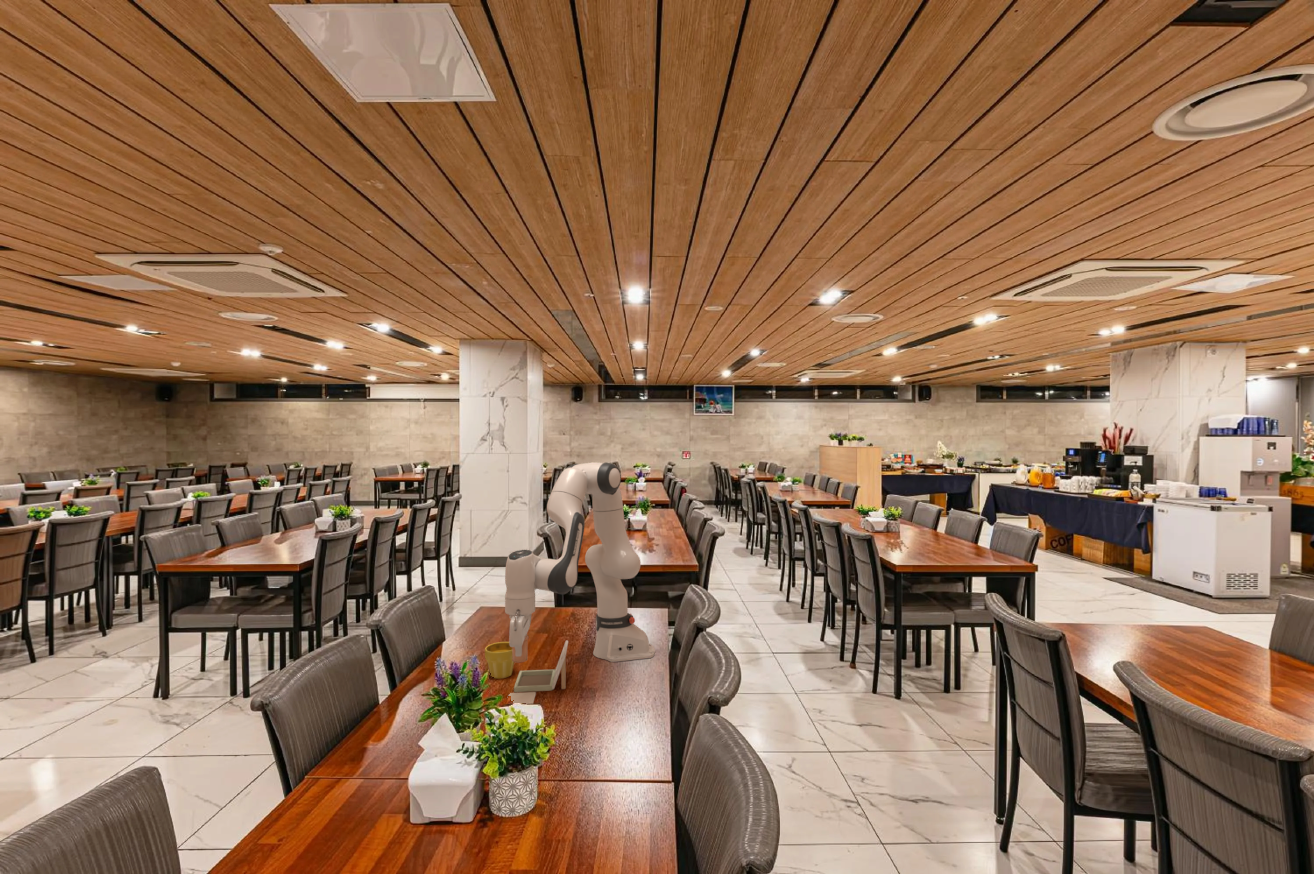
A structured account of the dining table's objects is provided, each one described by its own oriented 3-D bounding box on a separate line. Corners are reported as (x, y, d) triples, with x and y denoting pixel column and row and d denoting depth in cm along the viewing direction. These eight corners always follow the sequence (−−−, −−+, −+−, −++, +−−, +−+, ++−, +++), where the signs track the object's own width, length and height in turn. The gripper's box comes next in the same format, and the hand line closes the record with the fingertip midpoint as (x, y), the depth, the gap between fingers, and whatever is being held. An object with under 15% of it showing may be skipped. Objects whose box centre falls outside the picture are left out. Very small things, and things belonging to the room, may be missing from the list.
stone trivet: (536, 694, 186) (535, 691, 186) (533, 705, 178) (533, 702, 178) (509, 695, 185) (509, 692, 185) (505, 706, 177) (505, 704, 177)
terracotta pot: (529, 656, 184) (529, 633, 184) (527, 662, 179) (527, 638, 179) (512, 657, 184) (512, 633, 184) (509, 663, 179) (510, 639, 179)
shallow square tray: (555, 675, 201) (555, 669, 201) (552, 692, 187) (552, 685, 187) (519, 676, 200) (519, 670, 200) (513, 693, 186) (513, 687, 186)
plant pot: (509, 683, 194) (508, 652, 194) (479, 681, 196) (479, 650, 197) (522, 671, 205) (522, 642, 205) (494, 669, 207) (493, 640, 207)
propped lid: (568, 674, 201) (568, 639, 201) (566, 691, 188) (565, 654, 188) (554, 675, 201) (554, 640, 201) (551, 692, 187) (551, 654, 187)
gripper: (526, 615, 172) (526, 664, 171) (534, 597, 192) (534, 641, 192) (503, 615, 171) (503, 665, 171) (514, 597, 191) (514, 641, 191)
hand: (520, 652), depth 181 cm, fingers closed on terracotta pot, 4 cm apart
